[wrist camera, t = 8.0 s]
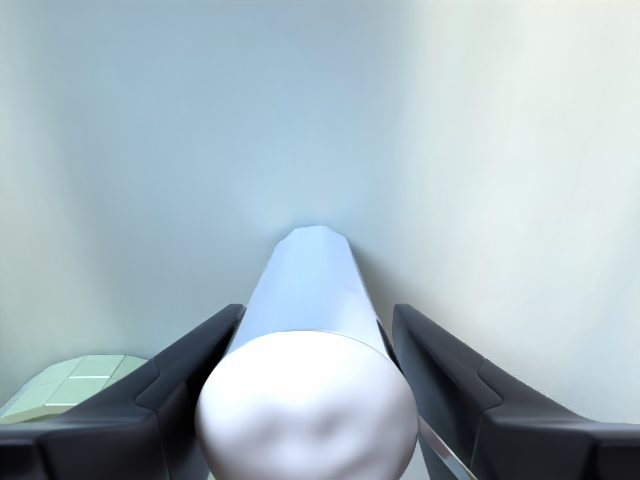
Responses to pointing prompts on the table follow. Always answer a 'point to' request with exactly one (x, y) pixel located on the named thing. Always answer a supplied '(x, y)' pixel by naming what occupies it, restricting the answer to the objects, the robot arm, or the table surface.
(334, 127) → the table surface
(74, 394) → the dish
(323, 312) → the milkshake
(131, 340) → the table surface
